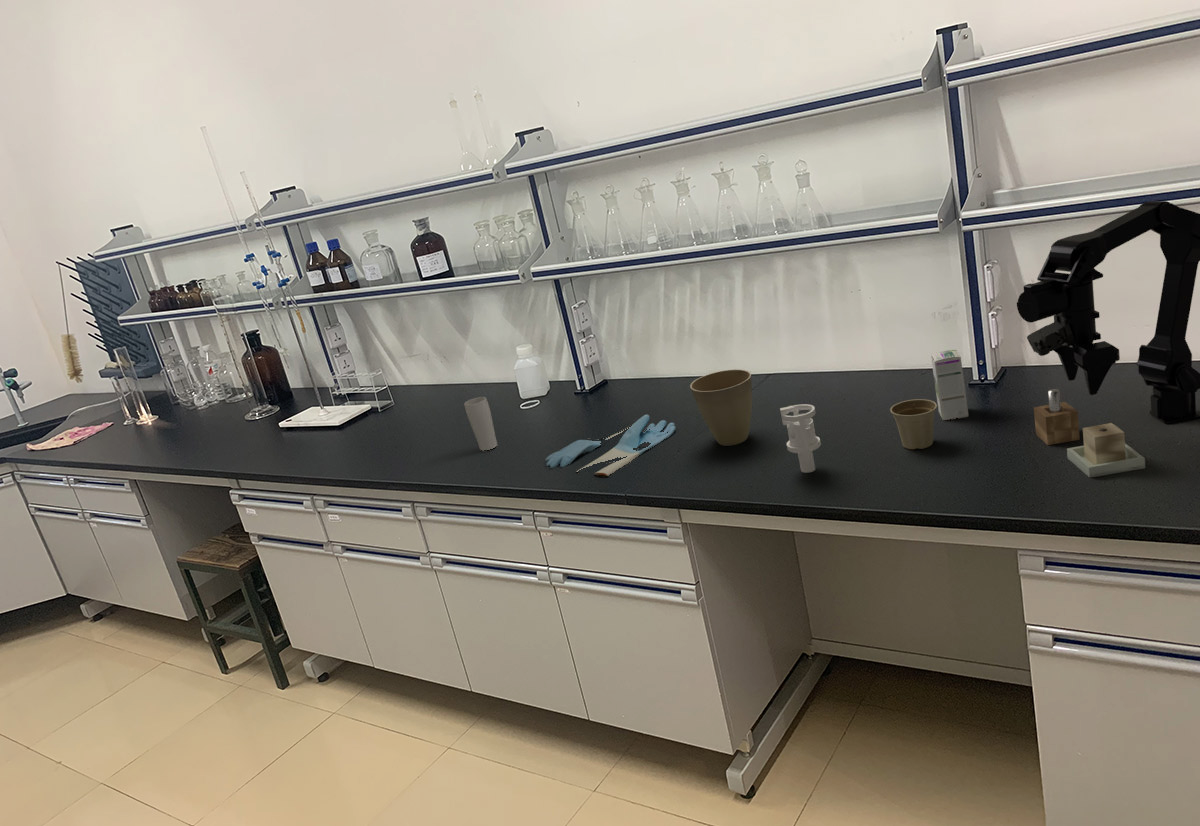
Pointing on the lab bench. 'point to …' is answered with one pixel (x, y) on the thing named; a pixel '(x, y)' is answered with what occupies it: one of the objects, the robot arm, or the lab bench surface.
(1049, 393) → the rod
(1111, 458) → the maple block
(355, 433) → the lab bench surface
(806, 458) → the strainer
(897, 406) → the flower pot
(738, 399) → the plant pot
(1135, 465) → the tray
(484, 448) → the drinking glass
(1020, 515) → the lab bench surface
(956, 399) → the syrup box
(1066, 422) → the bored oak block
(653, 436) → the rubber gloves
